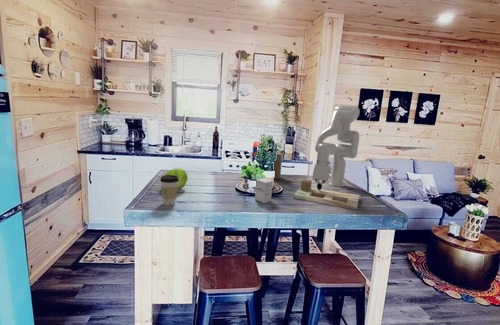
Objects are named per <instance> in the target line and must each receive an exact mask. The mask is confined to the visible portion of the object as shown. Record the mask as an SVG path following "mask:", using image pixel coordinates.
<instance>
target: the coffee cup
mask: <svg viewBox="0 0 500 325" xmlns="http://www.w3.org/2000/svg"><path fill="white" fill-rule="evenodd" d="M159 181H160V183H161V185H160V188H161V196H162V204H163V205H164V206H174V205H175V204H176V198H177V193H178V189H177V187H178V181H179V179H178V177H177V176H175V175H165V174H164V175H162V176H161V177H160V180H159Z"/></svg>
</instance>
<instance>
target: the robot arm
mask: <svg viewBox="0 0 500 325" xmlns="http://www.w3.org/2000/svg"><path fill="white" fill-rule="evenodd" d="M359 116H360V108H359V107H357V106H353V105H352V106H350V105H337V106H335V107H334V111H333V112H332V115H331V117H330V121H329V124H328V127H327V128H326V129H325V130H324V131H322V132H321V133H320V135H319V136H318V138H317V141H316V143H315V146H314V150H315V152H316V153H317V155H316V163H315V164H314V166H313V172H312V181H315V183H316V188H318V190H321V189H323V184H325V183H327V184H328V185H330V186H332V187H338V188H340V187H341V188H342V187H345V186H346V184H345V183H344V180H345V172H346V165H347V164H346V160H345V158H346V159H347V158H348V159H356V157H357V156H358V150H359V144H360V133H359V132H358V131H357V130H352V129H351V124H352V123H353V122H354V121H356V120H357V119H358V118H359ZM335 135H336V140H337V141H338V142H340V143H336V144H335V143H331V142H324V140H326V139H327V138H329V137H332V136H335ZM344 143H345V144H344ZM330 156H333V157H332V162H331V161H330V159H329V158H330ZM331 163H332V167H331V174H330V165H331ZM329 179H330V181H329Z"/></svg>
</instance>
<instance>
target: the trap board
mask: <svg viewBox="0 0 500 325" xmlns="http://www.w3.org/2000/svg"><path fill="white" fill-rule="evenodd" d="M293 199H297V200H302V201H306V202H307V201H308V202H314V203H318V204H319V203H320V204H323V205H330V206H333V207H334V206H335V207H341V208H344V209H345V208H346V209H351V210H358V206H359V205H358V204H359V200H360V195H359V194H354V193H347V192H342V191H337V190H335V191H334V190H330V189H324V188H322V189H321V190H318V188H317V187H312V186H311V189H310V191H306V190H301V187H300V188H299V189H298V190H297V191H296V192H295V193H294V194H293Z"/></svg>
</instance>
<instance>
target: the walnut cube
mask: <svg viewBox="0 0 500 325" xmlns="http://www.w3.org/2000/svg"><path fill="white" fill-rule="evenodd" d="M312 181H313V180H311V179H304V178H303V179H301V182H300V183H301V184H300V188H301V190H306V191H310V189H311V187H312Z"/></svg>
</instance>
